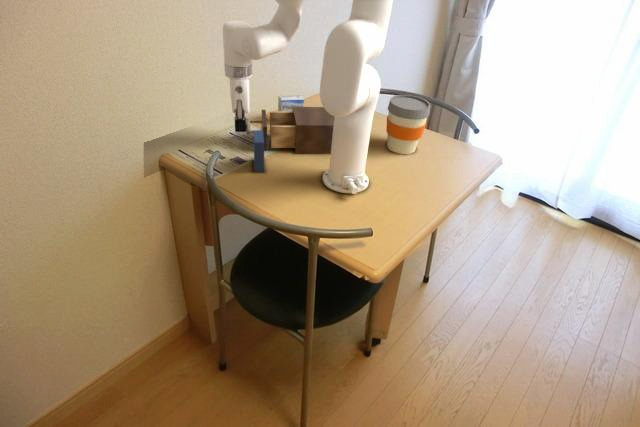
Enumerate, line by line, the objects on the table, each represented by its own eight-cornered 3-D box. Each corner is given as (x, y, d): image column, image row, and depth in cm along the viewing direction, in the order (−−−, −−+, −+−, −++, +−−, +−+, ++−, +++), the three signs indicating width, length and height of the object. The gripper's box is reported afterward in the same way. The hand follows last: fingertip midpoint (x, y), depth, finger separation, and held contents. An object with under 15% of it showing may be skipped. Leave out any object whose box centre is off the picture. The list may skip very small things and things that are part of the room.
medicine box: (280, 125, 148) (280, 100, 142) (277, 119, 151) (278, 95, 146) (303, 124, 150) (304, 99, 145) (300, 118, 153) (301, 94, 148)
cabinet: (295, 153, 132) (296, 125, 127) (291, 133, 143) (292, 106, 138) (356, 153, 135) (359, 125, 130) (347, 133, 146) (350, 107, 141)
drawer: (246, 150, 130) (245, 126, 126) (246, 131, 140) (245, 109, 136) (321, 150, 133) (323, 127, 129) (316, 132, 143) (317, 110, 139)
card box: (254, 172, 122) (254, 142, 117) (254, 159, 127) (253, 130, 122) (264, 172, 122) (264, 142, 117) (263, 159, 128) (263, 131, 123)
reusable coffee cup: (400, 160, 134) (410, 113, 125) (373, 143, 141) (380, 98, 133) (429, 151, 140) (440, 106, 131) (401, 135, 148) (409, 92, 139)
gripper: (252, 79, 117) (253, 142, 127) (251, 61, 129) (252, 120, 139) (223, 78, 116) (227, 142, 126) (225, 61, 128) (228, 120, 138)
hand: (240, 130), depth 133 cm, fingers closed
